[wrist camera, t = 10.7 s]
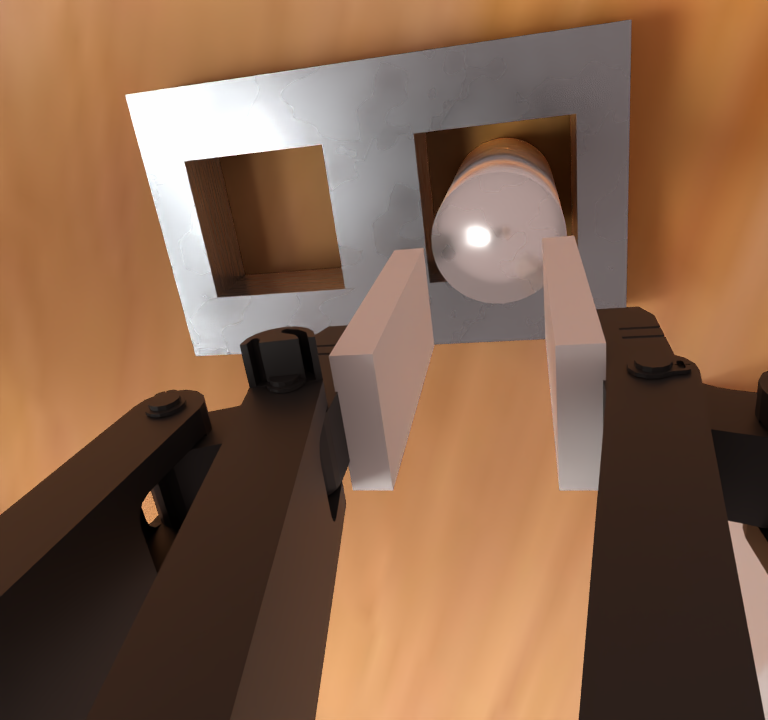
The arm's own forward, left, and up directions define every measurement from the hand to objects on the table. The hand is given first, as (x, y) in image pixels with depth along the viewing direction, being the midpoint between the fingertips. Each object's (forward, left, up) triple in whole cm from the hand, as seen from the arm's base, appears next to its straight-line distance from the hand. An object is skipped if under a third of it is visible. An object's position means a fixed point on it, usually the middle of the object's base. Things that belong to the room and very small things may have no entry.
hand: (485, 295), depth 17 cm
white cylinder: (0, 0, -15) cm, 15 cm away
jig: (-5, 0, -15) cm, 15 cm away
